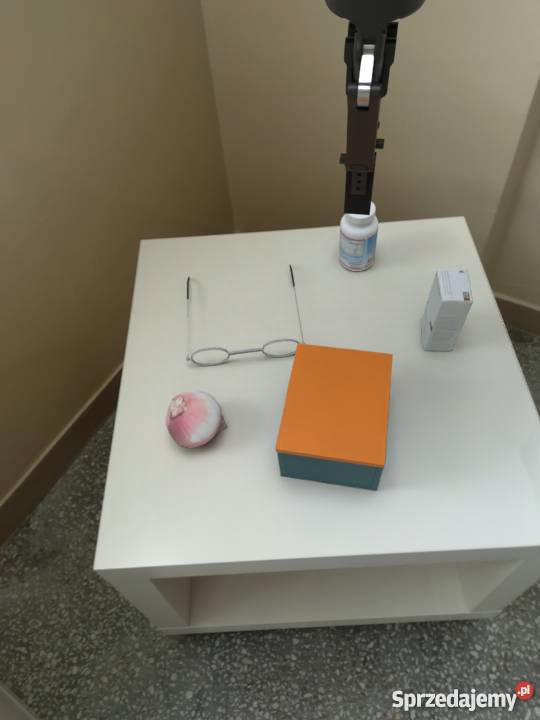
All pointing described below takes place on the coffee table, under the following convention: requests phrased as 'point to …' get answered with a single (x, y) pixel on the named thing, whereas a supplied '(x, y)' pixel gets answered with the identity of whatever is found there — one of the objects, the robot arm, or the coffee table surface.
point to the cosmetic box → (446, 309)
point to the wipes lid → (337, 405)
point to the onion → (194, 418)
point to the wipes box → (329, 471)
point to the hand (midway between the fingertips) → (357, 209)
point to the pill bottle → (358, 240)
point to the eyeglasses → (248, 349)
